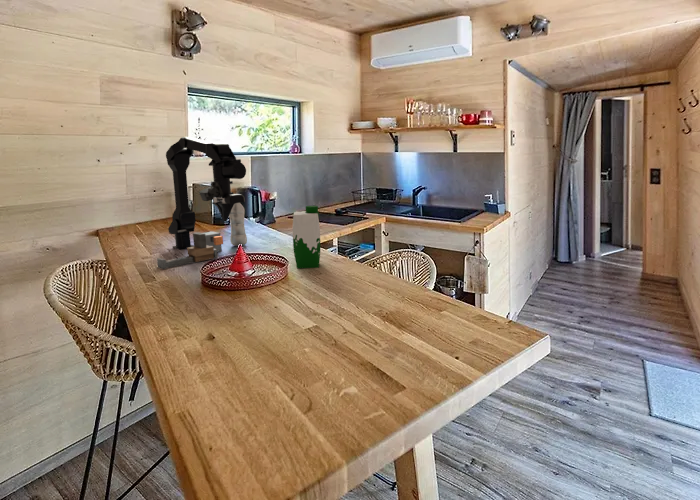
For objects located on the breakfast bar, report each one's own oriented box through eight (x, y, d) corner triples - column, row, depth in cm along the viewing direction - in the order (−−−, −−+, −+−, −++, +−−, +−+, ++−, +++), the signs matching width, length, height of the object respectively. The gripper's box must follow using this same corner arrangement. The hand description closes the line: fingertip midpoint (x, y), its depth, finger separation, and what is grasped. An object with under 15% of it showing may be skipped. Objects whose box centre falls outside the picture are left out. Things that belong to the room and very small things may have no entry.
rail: (157, 267, 159) (156, 258, 159) (211, 256, 174) (211, 248, 174) (163, 269, 157) (162, 260, 156) (217, 257, 172) (217, 249, 171)
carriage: (188, 259, 169) (185, 234, 167) (205, 256, 174) (203, 231, 172) (196, 262, 165) (194, 235, 163) (214, 258, 170) (212, 233, 168)
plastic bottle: (243, 247, 189) (240, 198, 184) (228, 247, 190) (224, 198, 186) (250, 244, 195) (246, 196, 190) (234, 244, 196) (231, 196, 192)
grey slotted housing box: (197, 251, 183) (196, 234, 182) (213, 248, 188) (212, 231, 187) (205, 253, 179) (204, 235, 178) (221, 250, 184) (220, 233, 183)
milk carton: (321, 268, 154) (319, 207, 149) (293, 269, 153) (290, 208, 149) (320, 261, 162) (318, 204, 158) (294, 263, 162) (291, 205, 157)
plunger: (206, 243, 181) (205, 235, 181) (213, 241, 184) (212, 234, 183) (216, 245, 177) (215, 237, 176) (223, 244, 179) (222, 236, 178)
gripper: (188, 179, 170) (192, 221, 173) (216, 180, 157) (220, 226, 161) (215, 177, 178) (218, 218, 181) (244, 178, 165) (247, 222, 169)
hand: (225, 221), depth 172 cm, fingers closed
